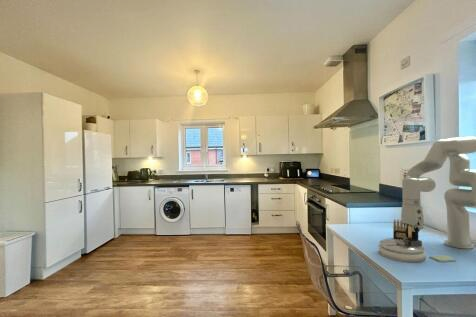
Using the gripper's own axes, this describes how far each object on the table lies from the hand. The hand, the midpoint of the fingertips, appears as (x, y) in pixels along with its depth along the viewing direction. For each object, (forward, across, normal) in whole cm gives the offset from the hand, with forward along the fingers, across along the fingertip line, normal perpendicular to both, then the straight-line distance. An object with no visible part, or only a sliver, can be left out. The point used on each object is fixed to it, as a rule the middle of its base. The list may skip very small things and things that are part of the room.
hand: (412, 238), depth 133 cm
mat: (+8, -8, -9) cm, 15 cm away
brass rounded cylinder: (+3, 0, 0) cm, 3 cm away
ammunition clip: (+9, +24, -14) cm, 29 cm away
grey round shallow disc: (+5, 0, +6) cm, 8 cm away
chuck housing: (+8, 0, +6) cm, 10 cm away
